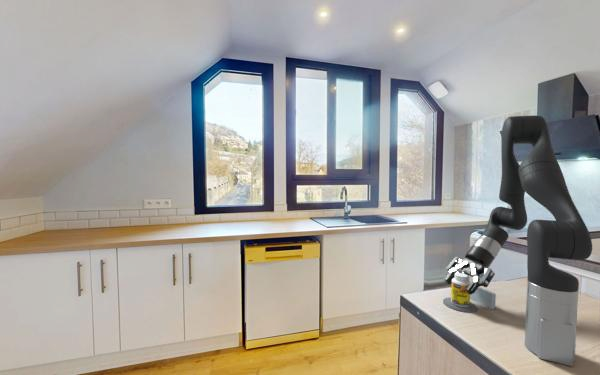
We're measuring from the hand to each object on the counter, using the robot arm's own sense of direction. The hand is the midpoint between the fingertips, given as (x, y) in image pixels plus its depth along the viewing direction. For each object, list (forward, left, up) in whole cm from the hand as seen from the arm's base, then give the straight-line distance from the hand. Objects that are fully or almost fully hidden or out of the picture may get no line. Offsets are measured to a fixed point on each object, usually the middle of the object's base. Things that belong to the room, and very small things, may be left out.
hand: (457, 287), depth 90 cm
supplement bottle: (+1, -1, -6) cm, 6 cm away
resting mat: (+1, -1, -6) cm, 6 cm away
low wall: (+7, -7, -6) cm, 12 cm away
